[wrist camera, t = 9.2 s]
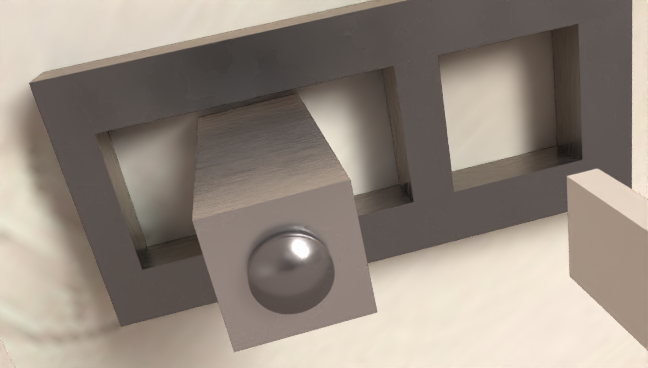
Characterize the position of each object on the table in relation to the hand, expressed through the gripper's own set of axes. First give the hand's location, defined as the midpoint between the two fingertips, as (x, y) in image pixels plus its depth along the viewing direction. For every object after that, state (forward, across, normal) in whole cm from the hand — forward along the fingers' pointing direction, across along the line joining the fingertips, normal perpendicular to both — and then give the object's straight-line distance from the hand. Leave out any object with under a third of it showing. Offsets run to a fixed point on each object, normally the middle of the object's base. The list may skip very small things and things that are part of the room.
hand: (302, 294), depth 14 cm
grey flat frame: (+12, +4, -1) cm, 13 cm away
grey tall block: (+12, 0, -1) cm, 12 cm away
